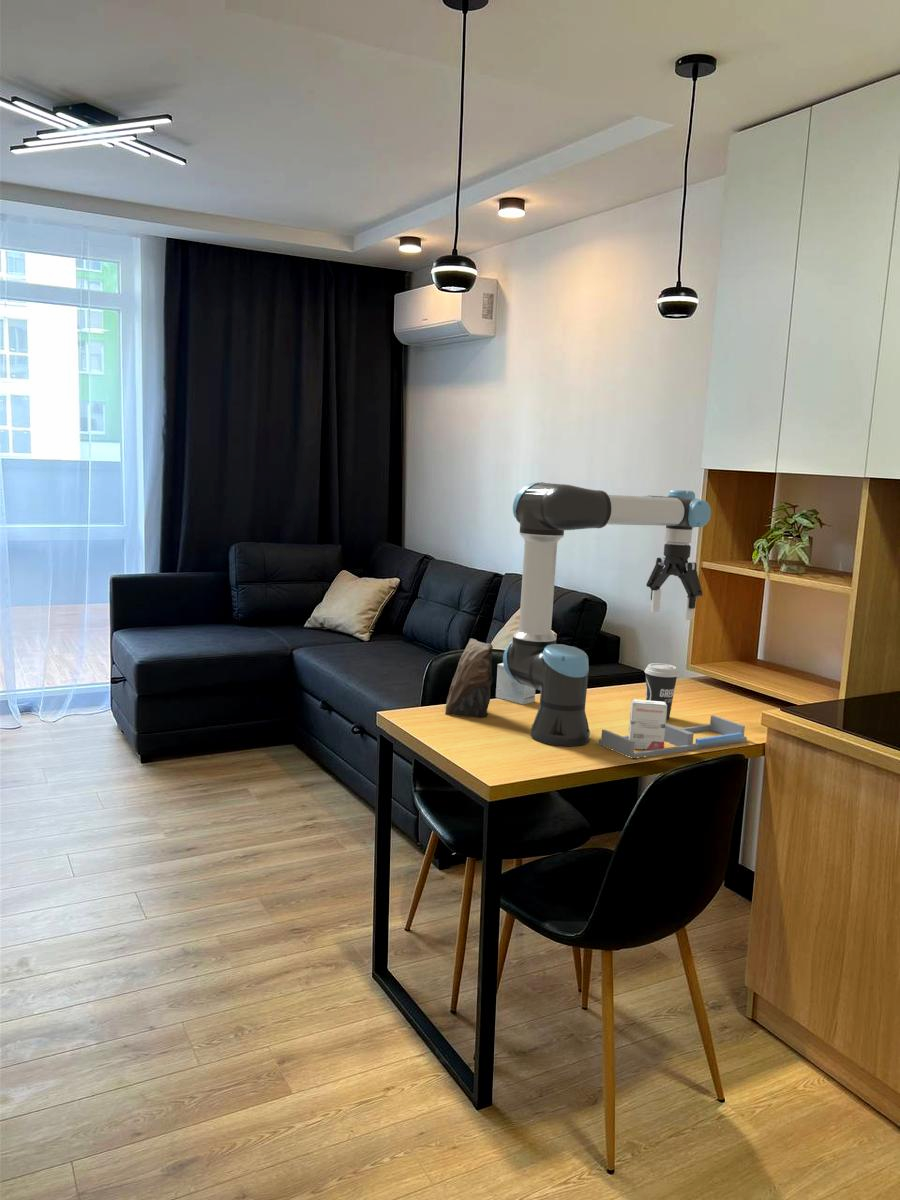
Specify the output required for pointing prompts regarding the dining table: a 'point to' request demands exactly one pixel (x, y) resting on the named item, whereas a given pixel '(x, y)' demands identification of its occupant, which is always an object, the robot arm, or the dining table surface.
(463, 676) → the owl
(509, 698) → the skincare box
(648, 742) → the ink box
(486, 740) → the dining table surface
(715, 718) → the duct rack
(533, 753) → the dining table surface
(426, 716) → the dining table surface
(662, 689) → the coffee cup
